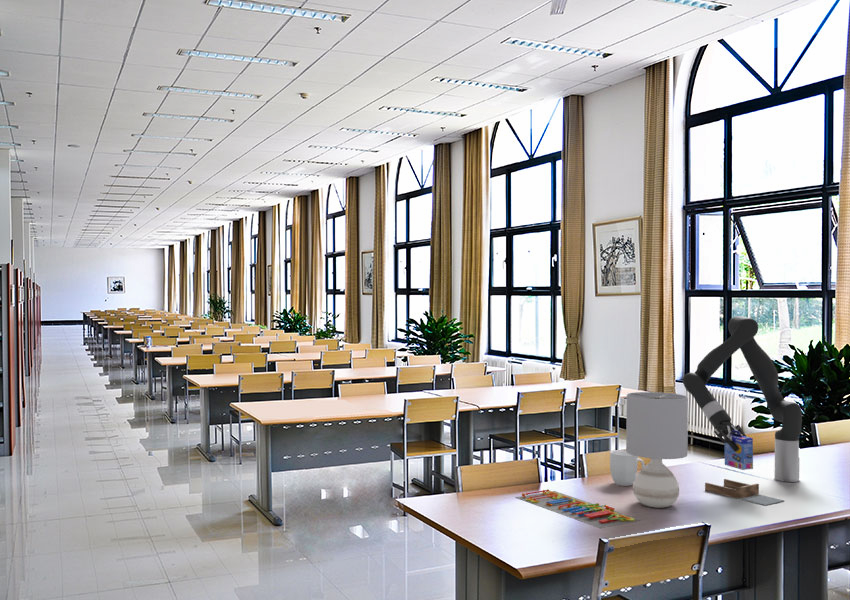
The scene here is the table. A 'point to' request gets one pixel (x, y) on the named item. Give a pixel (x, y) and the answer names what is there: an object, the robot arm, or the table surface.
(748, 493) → the frame
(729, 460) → the ink cartridge box
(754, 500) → the pad
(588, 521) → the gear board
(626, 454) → the mug
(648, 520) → the table surface
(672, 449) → the lamp
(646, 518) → the table surface
